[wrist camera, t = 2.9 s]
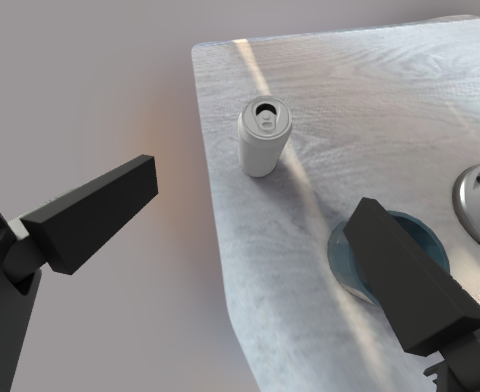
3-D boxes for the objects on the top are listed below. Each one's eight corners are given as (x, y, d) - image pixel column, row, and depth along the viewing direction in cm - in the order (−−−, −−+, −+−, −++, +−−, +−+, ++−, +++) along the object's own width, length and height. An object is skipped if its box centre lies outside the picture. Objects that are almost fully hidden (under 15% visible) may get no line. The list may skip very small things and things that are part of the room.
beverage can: (273, 144, 32) (292, 90, 21) (276, 178, 31) (298, 141, 19) (238, 145, 32) (236, 92, 21) (239, 179, 31) (238, 143, 19)
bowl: (390, 211, 29) (427, 204, 24) (417, 291, 27) (467, 307, 21) (317, 222, 29) (336, 218, 23) (337, 305, 26) (365, 324, 20)
